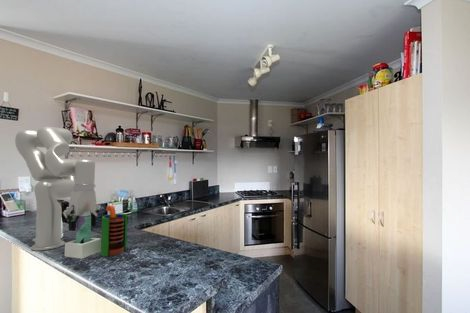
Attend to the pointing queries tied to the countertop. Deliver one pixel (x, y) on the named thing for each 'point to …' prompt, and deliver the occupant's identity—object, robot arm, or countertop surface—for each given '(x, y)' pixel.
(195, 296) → the countertop surface
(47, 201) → the robot arm
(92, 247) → the square frame
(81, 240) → the spray can
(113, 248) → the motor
